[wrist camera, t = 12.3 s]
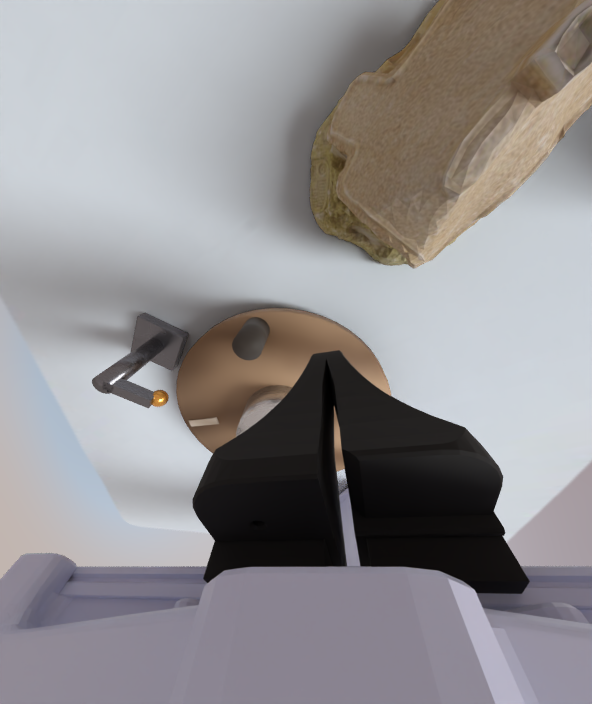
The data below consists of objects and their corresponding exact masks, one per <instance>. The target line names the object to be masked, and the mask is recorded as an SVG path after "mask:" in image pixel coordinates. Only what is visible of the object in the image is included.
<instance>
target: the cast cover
mask: <svg viewBox="0 0 592 704" xmlns="http://www.w3.org/2000/svg"><path fill="white" fill-rule="evenodd" d="M291 389H292V387H290V386H284V385H273V386H268V387H264V388H262V389H260V390H258V391H256V392H255V393H254V394H252V396H251V397H250V398H249V400H248V401H247V404H246V406H245V409H244V412H243V414H242V417H241V419H240V422H239V425H238V427H237V431H236V437H237V436H238V435H240V434H241V433H243V432H244V431H246V430H247V429H249V428H250V427H251V426H253V425H254V424H255V423H257V422H258V421H259V420H261V419H262V418H263V417H264V416H265V415H266V414H268V413H269V412H270V411H271V410H272V409H273V408H274V407H275V406H276V405H278V404H279V403H280V402H281V400H282V399H283V398H284V397H285V396H286V395H287V394H288V392H289V391H290V390H291Z"/></svg>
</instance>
